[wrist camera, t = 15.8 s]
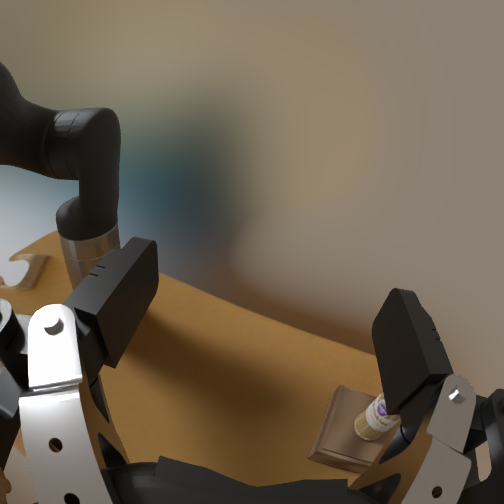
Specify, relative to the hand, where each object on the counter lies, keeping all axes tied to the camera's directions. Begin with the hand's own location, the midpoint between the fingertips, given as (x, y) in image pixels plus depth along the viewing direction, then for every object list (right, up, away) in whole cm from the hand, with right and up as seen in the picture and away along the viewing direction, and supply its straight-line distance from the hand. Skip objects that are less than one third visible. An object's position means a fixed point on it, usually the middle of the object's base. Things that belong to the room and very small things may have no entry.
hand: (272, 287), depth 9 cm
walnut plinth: (+14, -25, +21) cm, 35 cm away
